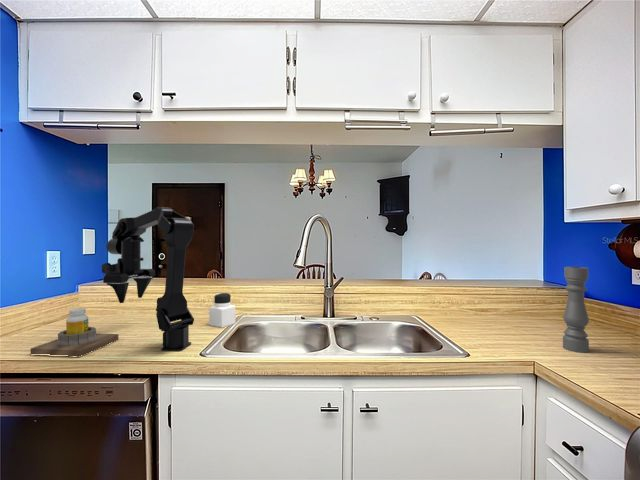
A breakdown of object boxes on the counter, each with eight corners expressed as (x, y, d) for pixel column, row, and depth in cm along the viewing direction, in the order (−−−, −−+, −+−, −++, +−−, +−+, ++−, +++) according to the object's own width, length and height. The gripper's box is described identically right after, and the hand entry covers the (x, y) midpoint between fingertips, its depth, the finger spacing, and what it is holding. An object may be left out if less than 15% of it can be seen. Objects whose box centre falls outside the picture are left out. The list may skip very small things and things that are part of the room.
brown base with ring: (118, 340, 103) (118, 324, 103) (79, 357, 88) (79, 339, 88) (75, 338, 105) (75, 323, 105) (30, 355, 90) (30, 338, 90)
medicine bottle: (235, 323, 124) (235, 293, 124) (221, 328, 118) (221, 296, 117) (223, 321, 127) (223, 291, 127) (208, 325, 121) (208, 294, 121)
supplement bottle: (68, 339, 98) (68, 308, 97) (89, 337, 100) (89, 306, 100) (64, 344, 93) (64, 312, 93) (87, 341, 95) (86, 310, 95)
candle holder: (563, 344, 101) (563, 266, 101) (588, 348, 97) (589, 267, 97) (562, 349, 96) (563, 267, 96) (589, 354, 92) (589, 268, 92)
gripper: (127, 253, 118) (127, 295, 119) (86, 256, 100) (87, 305, 100) (155, 253, 118) (156, 295, 118) (120, 256, 99) (120, 306, 99)
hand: (131, 300), depth 109 cm, fingers open, 9 cm apart
